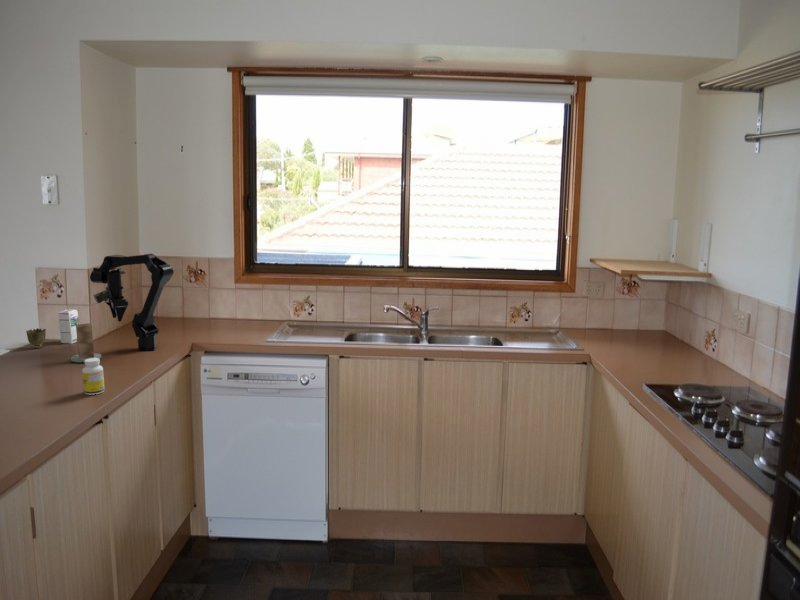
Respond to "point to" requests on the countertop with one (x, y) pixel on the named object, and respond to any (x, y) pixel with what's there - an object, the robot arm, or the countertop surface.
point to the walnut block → (85, 340)
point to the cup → (36, 337)
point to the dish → (77, 358)
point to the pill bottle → (93, 377)
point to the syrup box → (68, 325)
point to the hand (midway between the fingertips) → (117, 319)
